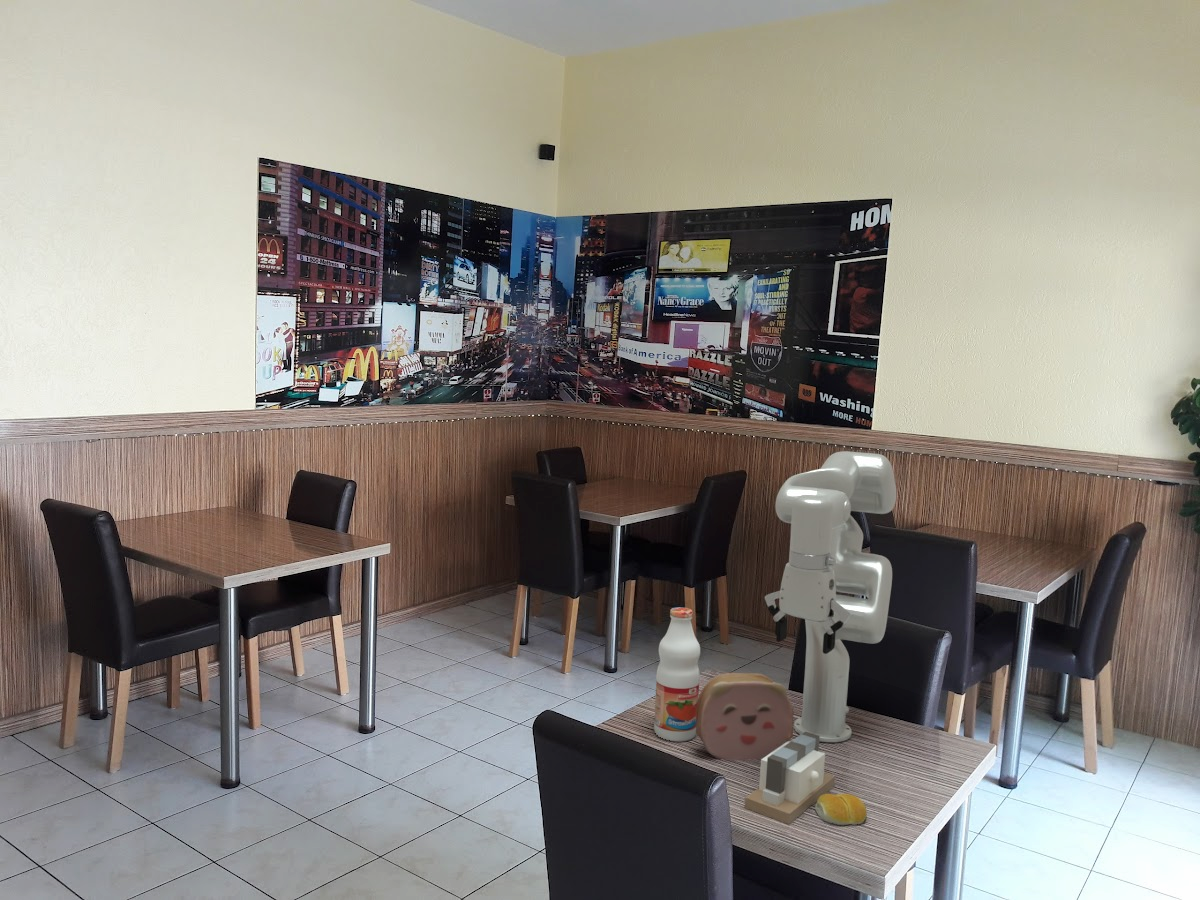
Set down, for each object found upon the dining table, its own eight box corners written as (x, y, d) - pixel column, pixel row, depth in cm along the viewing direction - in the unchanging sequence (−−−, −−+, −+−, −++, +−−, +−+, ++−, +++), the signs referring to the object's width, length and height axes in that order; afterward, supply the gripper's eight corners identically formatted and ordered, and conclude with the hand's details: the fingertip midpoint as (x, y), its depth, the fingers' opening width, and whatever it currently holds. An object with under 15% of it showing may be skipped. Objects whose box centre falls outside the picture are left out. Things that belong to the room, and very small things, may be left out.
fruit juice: (677, 722, 211) (684, 602, 208) (705, 737, 204) (712, 612, 201) (645, 730, 206) (651, 607, 203) (671, 746, 198) (678, 618, 195)
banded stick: (803, 760, 184) (805, 731, 184) (817, 765, 183) (819, 735, 182) (765, 788, 172) (767, 757, 171) (780, 793, 170) (782, 762, 169)
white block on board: (792, 771, 188) (795, 734, 187) (838, 787, 182) (841, 748, 182) (744, 807, 172) (747, 766, 172) (792, 825, 167) (795, 783, 166)
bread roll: (873, 826, 168) (875, 805, 168) (827, 828, 167) (828, 807, 166) (853, 803, 176) (855, 783, 176) (809, 805, 175) (810, 785, 174)
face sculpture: (698, 761, 191) (702, 683, 190) (691, 747, 198) (695, 671, 196) (792, 760, 194) (797, 683, 192) (782, 746, 200) (787, 671, 199)
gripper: (860, 564, 175) (854, 651, 177) (777, 548, 185) (772, 630, 188) (844, 572, 169) (838, 662, 171) (759, 555, 179) (754, 640, 182)
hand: (804, 645), depth 180 cm, fingers open, 9 cm apart
